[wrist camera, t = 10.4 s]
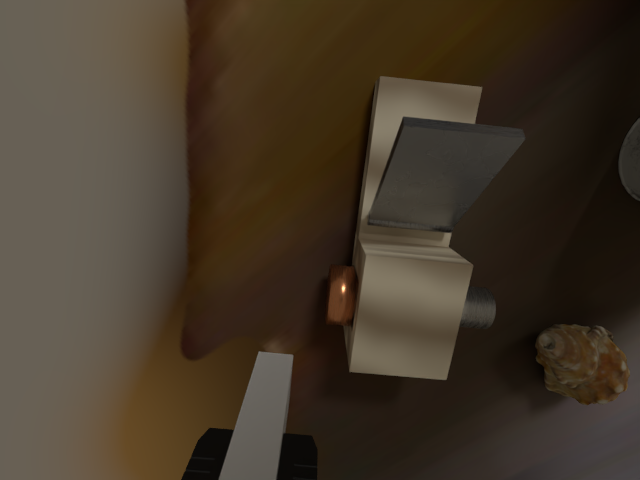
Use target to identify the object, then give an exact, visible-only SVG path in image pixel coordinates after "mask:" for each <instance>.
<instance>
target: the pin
mask: <svg viewBox="0 0 640 480" xmlns="http://www.w3.org/2000/svg"><path fill="white" fill-rule="evenodd" d="M358 286H359V280H358V277H357V276H355V269H354V267H353V266H343V265H332V264H331V265H330V269H329V275H328V283H327V293H326V307H325V324H330V325H341V326H350V324H351V321H352V317H354V315H355V308H356V301H357V293H358ZM495 314H496V304H495V299H494V296H493V294H492V292H491V291H490V290H489V289H487V288H482V287H472V286H469V287H468V291H467V295H466V299H465V304H464V308H463V312H462V316H461V321H460V325H459V327H470V328H481V329H487V328H489V327H490V326H491V325H492V323H493V321H494V319H495Z"/></svg>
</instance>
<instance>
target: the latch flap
mask: <svg viewBox="0 0 640 480" xmlns="http://www.w3.org/2000/svg"><path fill="white" fill-rule="evenodd" d="M525 139H526V138H525V135H524V133H523V130H522V129H518V128H508V127H499V126H489V125H480V124H470V123H461V122H452V121H442V120H433V119H423V118H414V117H404V116H403V118H402V121H401V124H400V127H399V130H398V132H397V135H396V138H395V141H394V144H393V147H392V149H391V152H390V155H389V158H388V161H387V163H386V166H385V169H384V172H383V175H382V178H381V180H380V183H379V186H378V189H377V192H376V195H375V197H374V200H373V203H372V206H371V209H370V211H369V212H368V217H367V225H370V226H380V227H390V228H401V229H411V230H421V231H432V232H442V233H451V232H452V231H453V228H454V226H455V225H456V224H457V223H458V221H459V220H460V219H461V218H462V216H463V215H464V214H465V213H466V212H467V210H468V209H469V208H470V207H471V205H472V204H473V203H474V202H475V200H476V199H477V198H478V197H479V196H480V194H481V193H482V192H483V191H484V189H485V188H486V187H487V186H488V184H489V183H490V182H491V181H492V180H493V178H494V177H495V176H496V175H497V173H498V172H499V171H500V170H501V168H502V167H503V166H504V165H505V164H506V162H507V161H508V160H509V159H510V157H511V156H512V155H513V154H514V152H515V151H516V150H517V149H518V148H519V146H520V145H521V144H522V143H523V141H524V140H525Z"/></svg>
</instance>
